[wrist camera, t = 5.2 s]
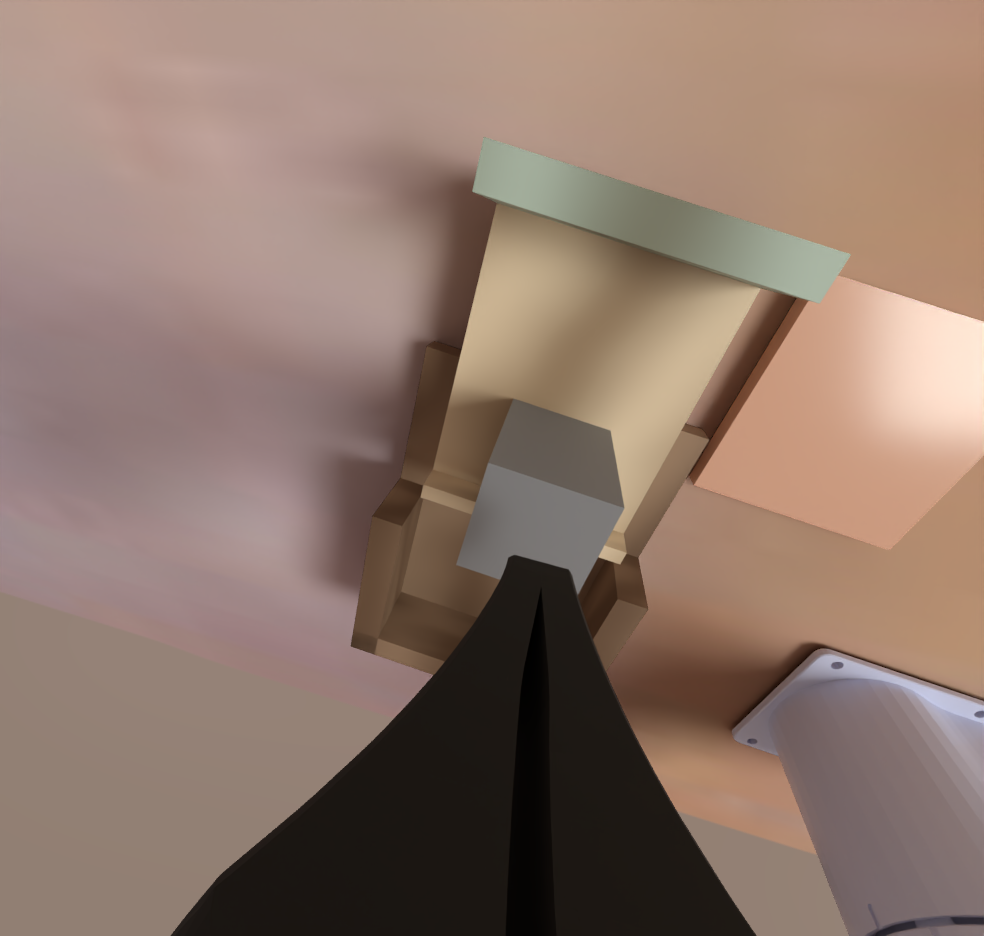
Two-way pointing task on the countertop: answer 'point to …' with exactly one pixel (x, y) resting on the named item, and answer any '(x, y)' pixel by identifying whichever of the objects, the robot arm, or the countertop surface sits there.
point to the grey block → (544, 495)
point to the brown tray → (440, 534)
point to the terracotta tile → (855, 414)
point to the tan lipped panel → (603, 315)
